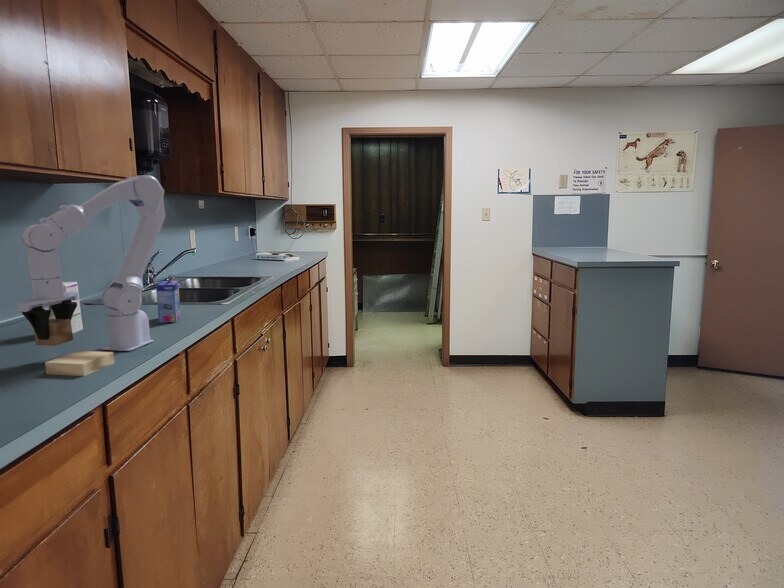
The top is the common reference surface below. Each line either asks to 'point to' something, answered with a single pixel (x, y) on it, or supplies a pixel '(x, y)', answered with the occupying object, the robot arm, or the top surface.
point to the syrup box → (76, 318)
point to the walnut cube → (57, 332)
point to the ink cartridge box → (168, 301)
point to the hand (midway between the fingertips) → (54, 336)
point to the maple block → (79, 363)
